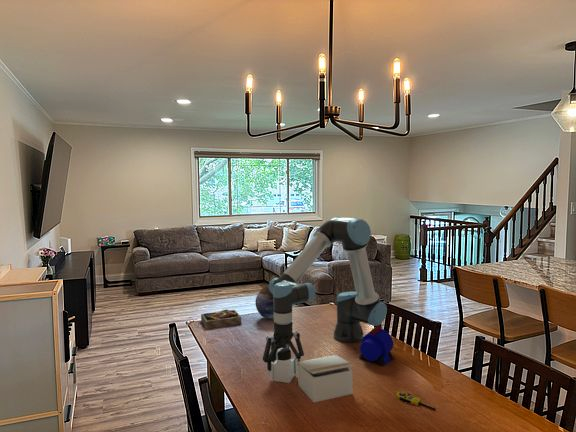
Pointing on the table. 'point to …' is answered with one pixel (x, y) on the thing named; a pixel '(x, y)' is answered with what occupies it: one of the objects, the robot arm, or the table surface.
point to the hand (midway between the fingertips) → (283, 375)
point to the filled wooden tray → (220, 321)
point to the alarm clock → (377, 346)
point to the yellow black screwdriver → (410, 399)
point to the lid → (324, 364)
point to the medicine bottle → (284, 366)
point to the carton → (325, 383)
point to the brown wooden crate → (221, 315)
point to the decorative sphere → (265, 303)
